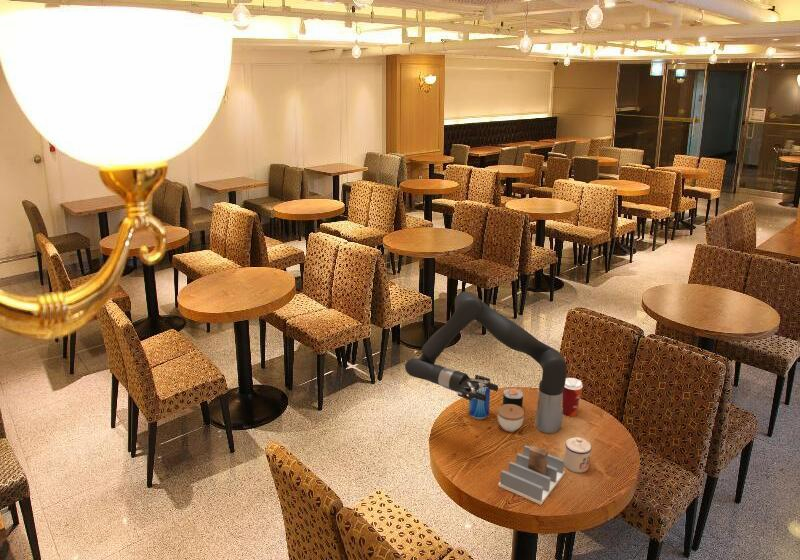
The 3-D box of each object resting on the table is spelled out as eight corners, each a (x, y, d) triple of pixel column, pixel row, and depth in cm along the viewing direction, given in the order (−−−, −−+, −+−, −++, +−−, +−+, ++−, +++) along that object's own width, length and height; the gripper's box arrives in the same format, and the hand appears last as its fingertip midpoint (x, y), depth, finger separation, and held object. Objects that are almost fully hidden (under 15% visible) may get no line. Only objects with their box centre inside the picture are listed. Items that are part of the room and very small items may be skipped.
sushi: (500, 403, 256) (501, 387, 254) (519, 402, 257) (520, 386, 254) (504, 413, 249) (505, 397, 246) (524, 412, 249) (525, 396, 247)
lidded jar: (521, 437, 233) (523, 416, 230) (494, 432, 236) (495, 411, 233) (524, 422, 242) (526, 402, 239) (498, 418, 246) (500, 398, 242)
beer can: (489, 420, 244) (491, 386, 238) (469, 420, 244) (471, 386, 239) (487, 409, 252) (489, 376, 246) (467, 409, 252) (469, 376, 247)
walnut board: (527, 478, 207) (529, 449, 203) (530, 474, 210) (533, 445, 206) (541, 484, 204) (544, 455, 200) (545, 479, 207) (548, 451, 203)
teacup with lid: (582, 476, 210) (586, 449, 206) (559, 466, 215) (561, 439, 211) (596, 460, 218) (599, 434, 214) (573, 451, 224) (576, 425, 220)
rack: (498, 485, 205) (499, 471, 203) (523, 457, 220) (524, 444, 218) (541, 505, 196) (542, 490, 194) (564, 474, 211) (566, 460, 209)
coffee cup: (580, 419, 244) (583, 387, 239) (559, 417, 246) (563, 385, 241) (578, 408, 252) (582, 377, 247) (558, 406, 254) (561, 376, 249)
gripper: (443, 378, 213) (482, 392, 203) (463, 363, 223) (501, 376, 214) (442, 396, 215) (481, 411, 206) (463, 381, 226) (500, 394, 217)
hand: (491, 393), depth 210 cm, fingers open, 8 cm apart
